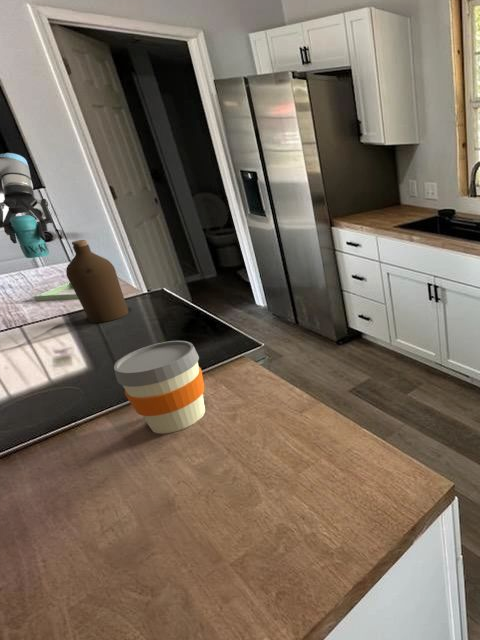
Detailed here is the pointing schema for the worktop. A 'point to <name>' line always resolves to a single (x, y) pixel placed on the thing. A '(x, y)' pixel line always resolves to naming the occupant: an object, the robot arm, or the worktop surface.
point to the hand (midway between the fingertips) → (28, 239)
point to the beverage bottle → (28, 234)
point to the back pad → (49, 294)
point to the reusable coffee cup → (164, 384)
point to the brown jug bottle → (96, 285)
